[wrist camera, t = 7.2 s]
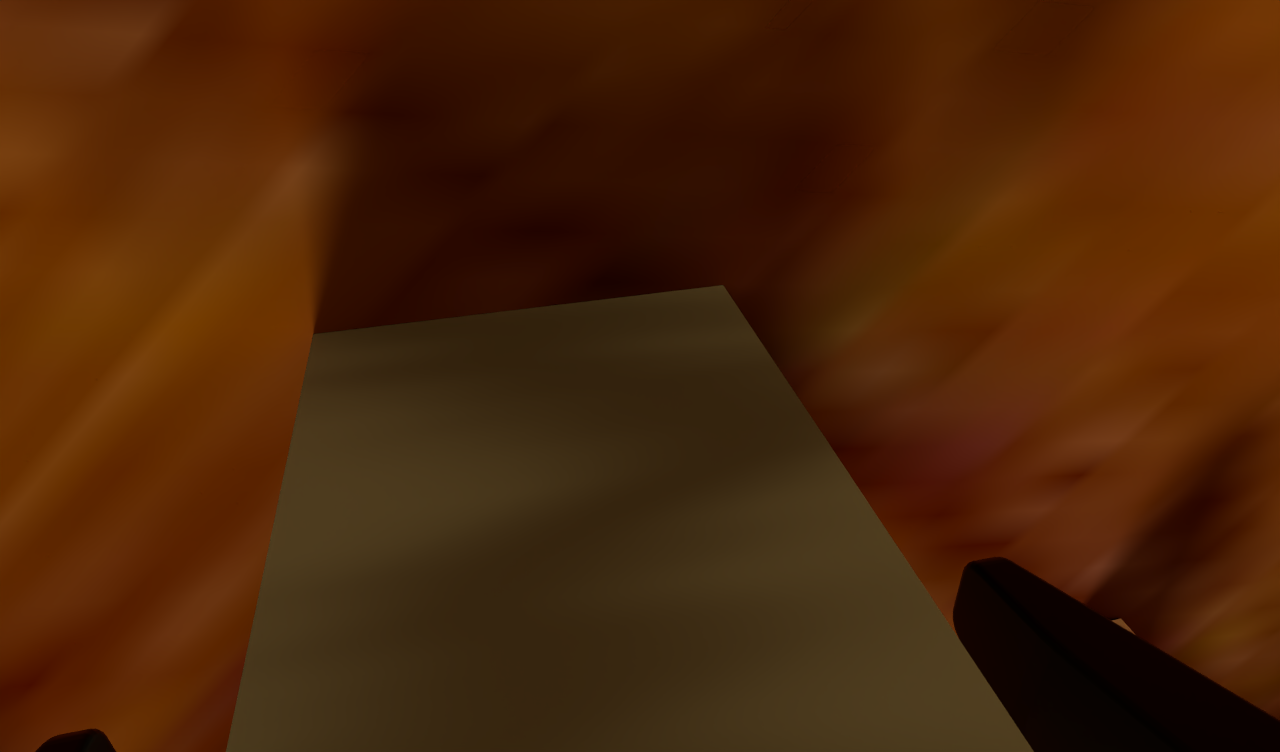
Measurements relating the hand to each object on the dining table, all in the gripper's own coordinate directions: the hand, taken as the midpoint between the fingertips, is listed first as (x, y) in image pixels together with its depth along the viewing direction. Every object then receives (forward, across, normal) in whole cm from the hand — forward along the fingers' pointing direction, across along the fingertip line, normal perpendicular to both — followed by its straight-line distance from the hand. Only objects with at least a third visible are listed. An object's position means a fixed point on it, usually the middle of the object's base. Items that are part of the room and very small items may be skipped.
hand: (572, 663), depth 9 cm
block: (+3, 0, 0) cm, 3 cm away
